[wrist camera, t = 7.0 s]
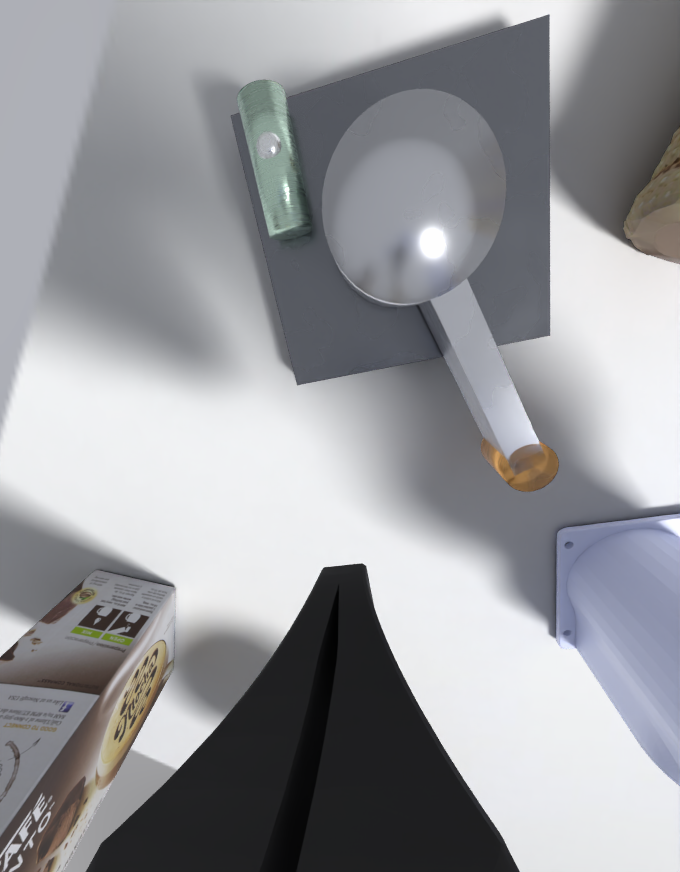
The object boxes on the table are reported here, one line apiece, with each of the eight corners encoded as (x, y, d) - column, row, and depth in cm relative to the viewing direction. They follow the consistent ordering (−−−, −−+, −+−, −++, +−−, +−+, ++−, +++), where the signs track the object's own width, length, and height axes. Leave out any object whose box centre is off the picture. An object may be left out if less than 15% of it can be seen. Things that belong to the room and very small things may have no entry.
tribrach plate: (533, 334, 16) (577, 336, 13) (302, 380, 18) (288, 393, 14) (528, 48, 13) (586, -48, 9) (243, 136, 14) (207, 79, 11)
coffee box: (91, 566, 23) (-432, 1033, 8) (179, 585, 23) (-173, 1087, 8) (97, 655, 26) (-272, 1116, 11) (175, 672, 26) (-86, 1155, 11)
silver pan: (303, 203, 13) (287, 172, 11) (436, 103, 12) (458, 36, 9) (456, 487, 17) (475, 520, 14) (571, 435, 16) (616, 459, 13)
